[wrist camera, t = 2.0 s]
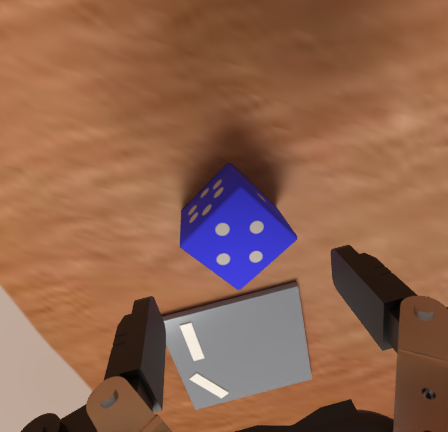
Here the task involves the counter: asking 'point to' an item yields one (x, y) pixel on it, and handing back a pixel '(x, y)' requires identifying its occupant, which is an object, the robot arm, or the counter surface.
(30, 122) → the counter surface
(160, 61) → the counter surface
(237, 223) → the die
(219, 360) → the tile
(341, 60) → the counter surface
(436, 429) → the robot arm
